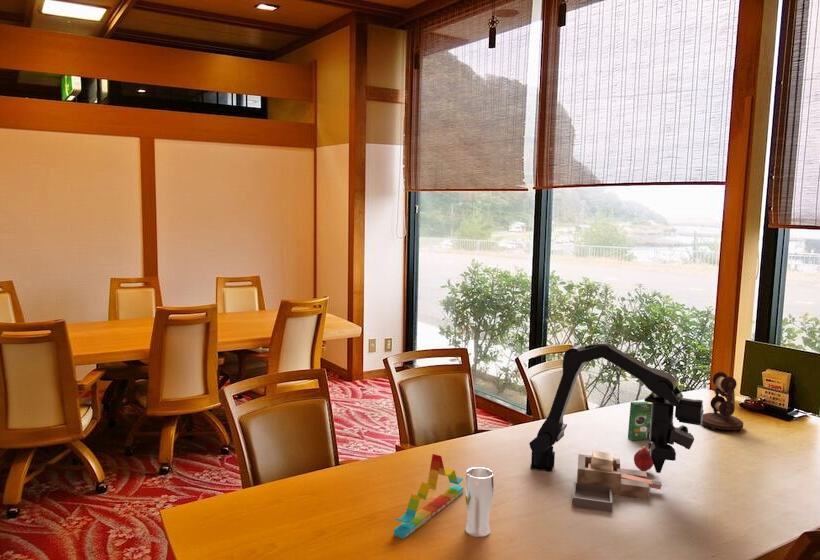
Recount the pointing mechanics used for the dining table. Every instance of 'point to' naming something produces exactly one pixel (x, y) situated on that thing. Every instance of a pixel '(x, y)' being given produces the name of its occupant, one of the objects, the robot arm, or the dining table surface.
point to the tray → (592, 497)
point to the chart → (417, 519)
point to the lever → (639, 479)
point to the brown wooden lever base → (613, 479)
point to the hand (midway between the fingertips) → (658, 472)
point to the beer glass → (478, 500)
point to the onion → (643, 459)
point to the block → (601, 460)
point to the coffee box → (639, 420)
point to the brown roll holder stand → (723, 405)
